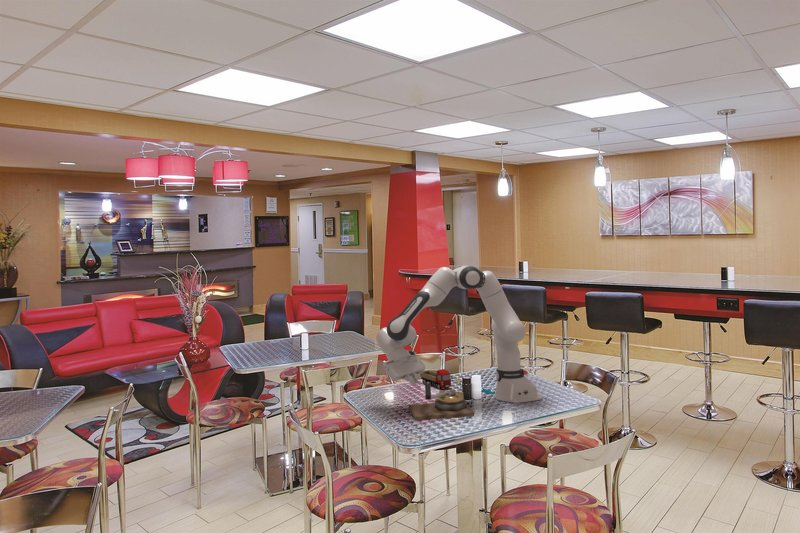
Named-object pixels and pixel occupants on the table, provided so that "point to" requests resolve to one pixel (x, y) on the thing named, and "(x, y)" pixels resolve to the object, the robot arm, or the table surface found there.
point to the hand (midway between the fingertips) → (415, 383)
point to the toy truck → (437, 378)
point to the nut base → (440, 410)
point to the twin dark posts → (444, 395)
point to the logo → (482, 388)
